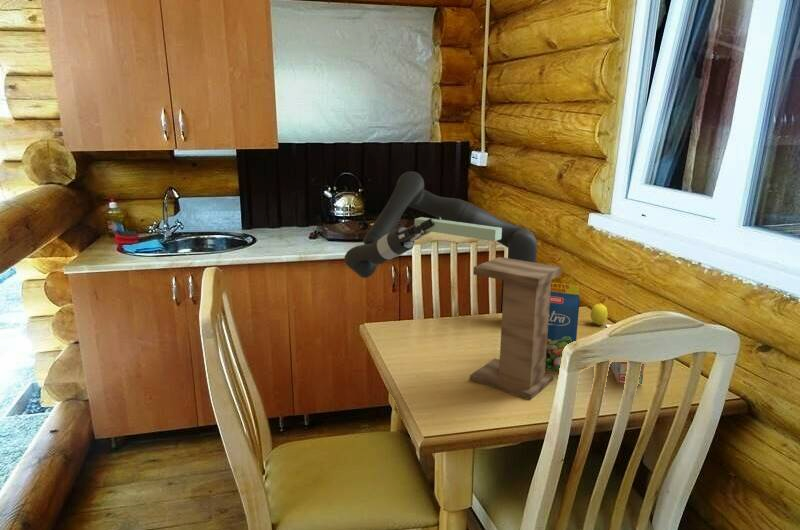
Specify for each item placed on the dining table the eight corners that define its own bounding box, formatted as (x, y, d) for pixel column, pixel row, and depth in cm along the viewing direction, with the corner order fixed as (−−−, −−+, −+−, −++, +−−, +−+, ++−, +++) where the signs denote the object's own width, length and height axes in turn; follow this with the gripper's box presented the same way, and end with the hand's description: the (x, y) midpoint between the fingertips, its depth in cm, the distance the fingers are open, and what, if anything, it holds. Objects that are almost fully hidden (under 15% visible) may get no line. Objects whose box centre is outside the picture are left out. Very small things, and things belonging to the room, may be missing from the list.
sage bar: (421, 227, 164) (421, 217, 164) (501, 238, 149) (501, 227, 148) (414, 229, 162) (414, 218, 161) (494, 241, 146) (495, 229, 145)
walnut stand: (494, 363, 164) (499, 256, 156) (553, 380, 154) (561, 267, 146) (469, 380, 154) (473, 266, 146) (530, 399, 143) (538, 278, 135)
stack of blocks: (602, 352, 172) (606, 314, 169) (624, 353, 171) (628, 315, 168) (618, 384, 152) (622, 341, 149) (642, 385, 151) (647, 343, 148)
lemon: (608, 328, 192) (611, 305, 190) (592, 328, 192) (594, 305, 190) (603, 322, 197) (605, 300, 195) (587, 322, 198) (589, 300, 196)
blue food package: (571, 374, 157) (578, 288, 151) (528, 366, 162) (533, 283, 156) (574, 365, 163) (581, 282, 157) (532, 358, 168) (537, 277, 161)
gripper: (375, 235, 164) (416, 211, 153) (404, 228, 175) (445, 205, 164) (385, 259, 164) (427, 236, 153) (414, 250, 175) (455, 229, 163)
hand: (436, 220), depth 158 cm, fingers closed on sage bar, 3 cm apart
